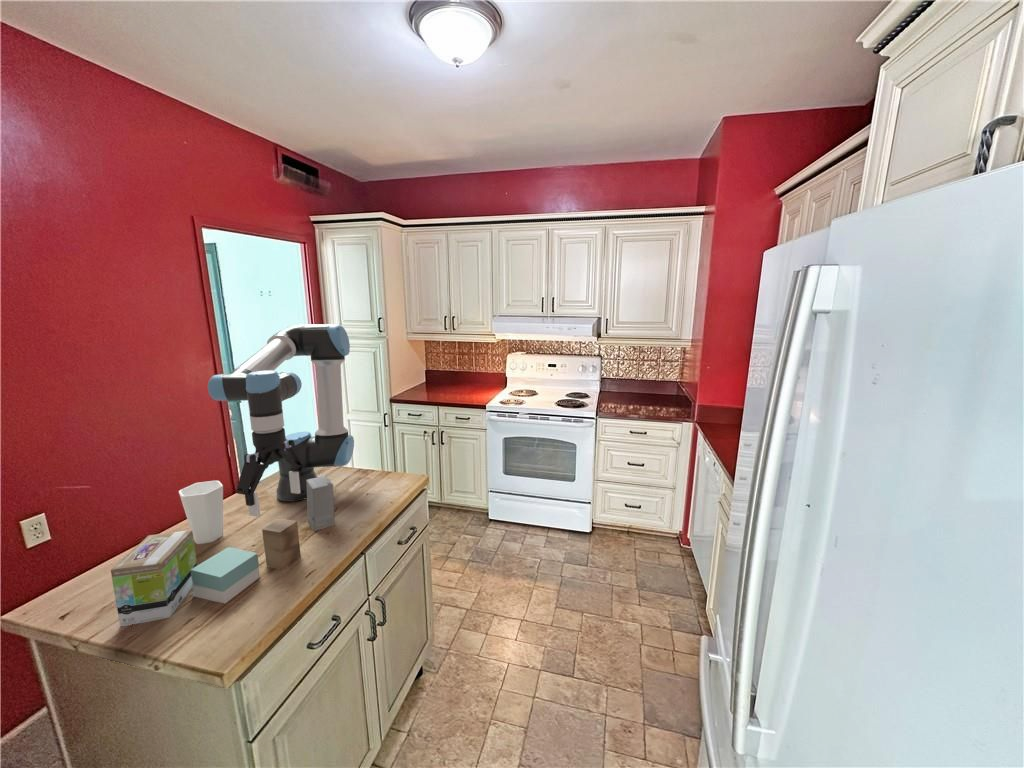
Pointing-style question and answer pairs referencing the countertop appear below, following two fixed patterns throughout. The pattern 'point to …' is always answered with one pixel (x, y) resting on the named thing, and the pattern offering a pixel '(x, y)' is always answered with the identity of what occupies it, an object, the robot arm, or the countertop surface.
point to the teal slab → (224, 569)
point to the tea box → (154, 577)
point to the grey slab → (228, 593)
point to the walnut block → (281, 543)
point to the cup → (204, 510)
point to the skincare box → (320, 502)
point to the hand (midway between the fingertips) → (276, 503)
